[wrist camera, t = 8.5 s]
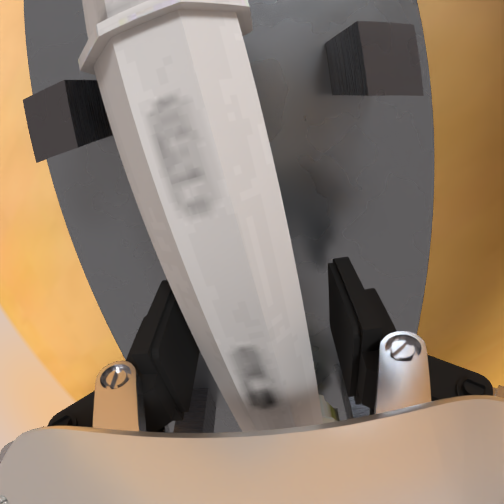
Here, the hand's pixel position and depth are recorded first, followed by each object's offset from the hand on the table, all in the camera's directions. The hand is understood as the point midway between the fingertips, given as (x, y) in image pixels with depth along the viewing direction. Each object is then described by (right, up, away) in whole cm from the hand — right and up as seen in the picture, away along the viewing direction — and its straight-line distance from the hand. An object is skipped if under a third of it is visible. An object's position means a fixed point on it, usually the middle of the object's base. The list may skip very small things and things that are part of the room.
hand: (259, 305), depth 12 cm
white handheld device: (0, +1, +1) cm, 1 cm away
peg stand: (0, +1, +3) cm, 3 cm away
